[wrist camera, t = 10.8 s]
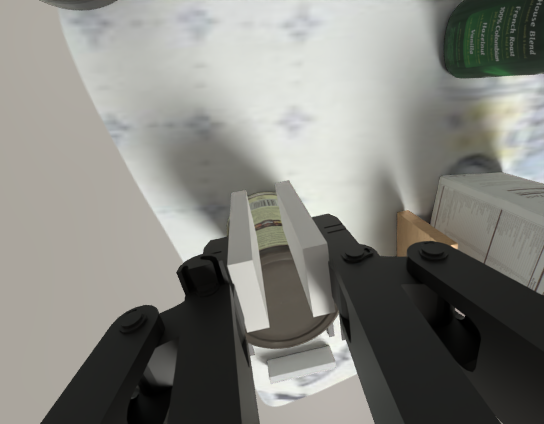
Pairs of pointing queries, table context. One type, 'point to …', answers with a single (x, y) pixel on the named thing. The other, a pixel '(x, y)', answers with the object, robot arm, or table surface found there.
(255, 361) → the table surface
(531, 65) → the coffee jar
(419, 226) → the gate posts
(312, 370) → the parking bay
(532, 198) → the supplement box
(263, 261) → the coffee can
